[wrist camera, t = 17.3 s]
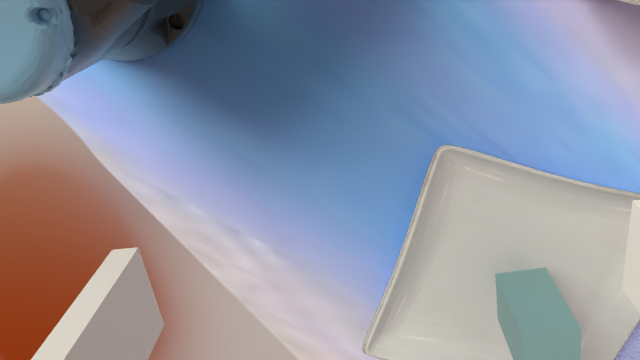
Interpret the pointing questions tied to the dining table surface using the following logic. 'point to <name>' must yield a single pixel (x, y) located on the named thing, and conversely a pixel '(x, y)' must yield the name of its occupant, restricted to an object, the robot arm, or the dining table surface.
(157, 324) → the robot arm
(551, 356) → the teal block
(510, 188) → the square plate
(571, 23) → the dining table surface
